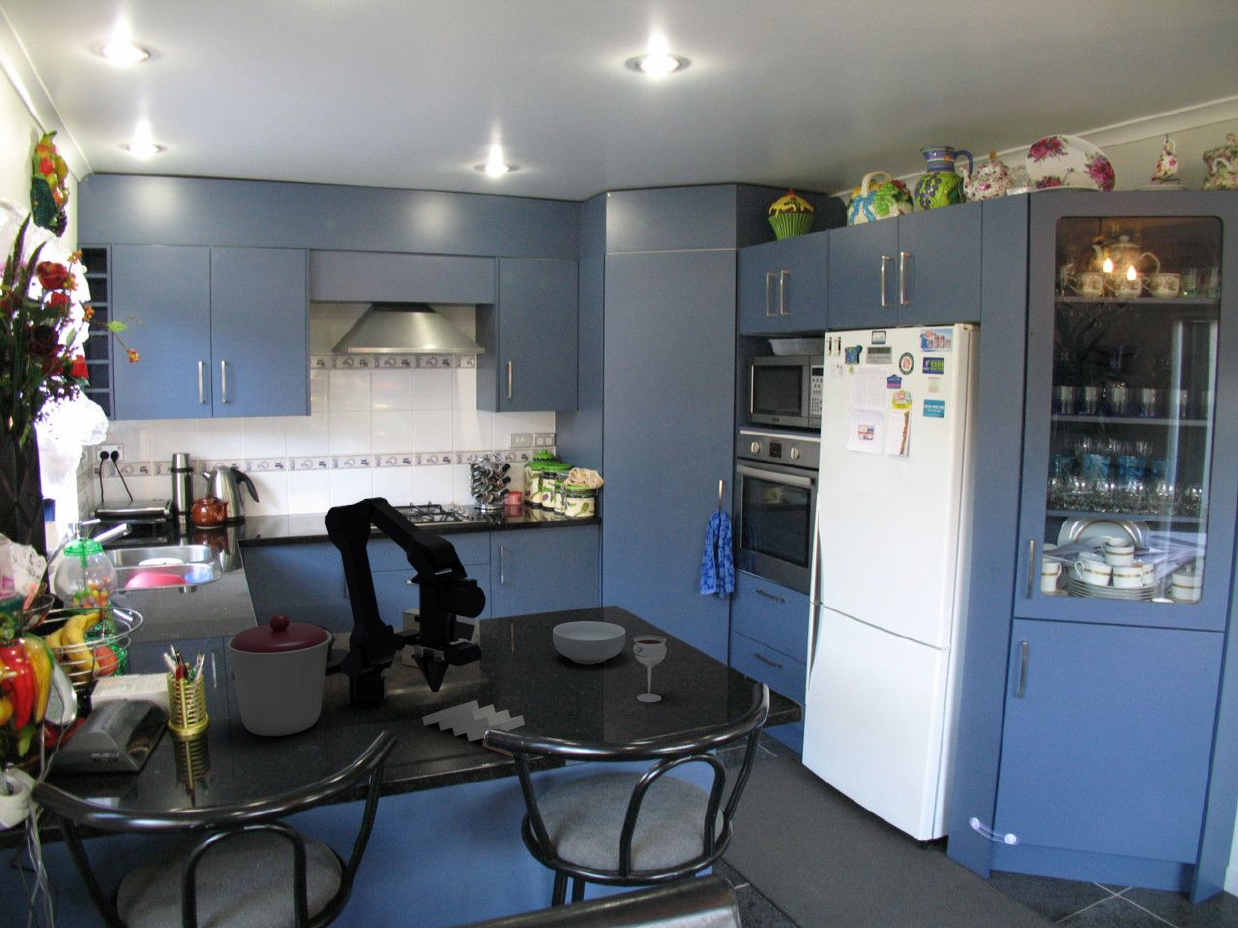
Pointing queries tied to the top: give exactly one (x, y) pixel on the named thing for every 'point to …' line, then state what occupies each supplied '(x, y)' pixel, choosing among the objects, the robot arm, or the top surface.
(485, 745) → the domino
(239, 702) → the canister
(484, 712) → the domino
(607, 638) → the cereal bowl
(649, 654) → the wineglass
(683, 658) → the top surface
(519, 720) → the domino
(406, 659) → the skincare box
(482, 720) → the domino
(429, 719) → the domino
